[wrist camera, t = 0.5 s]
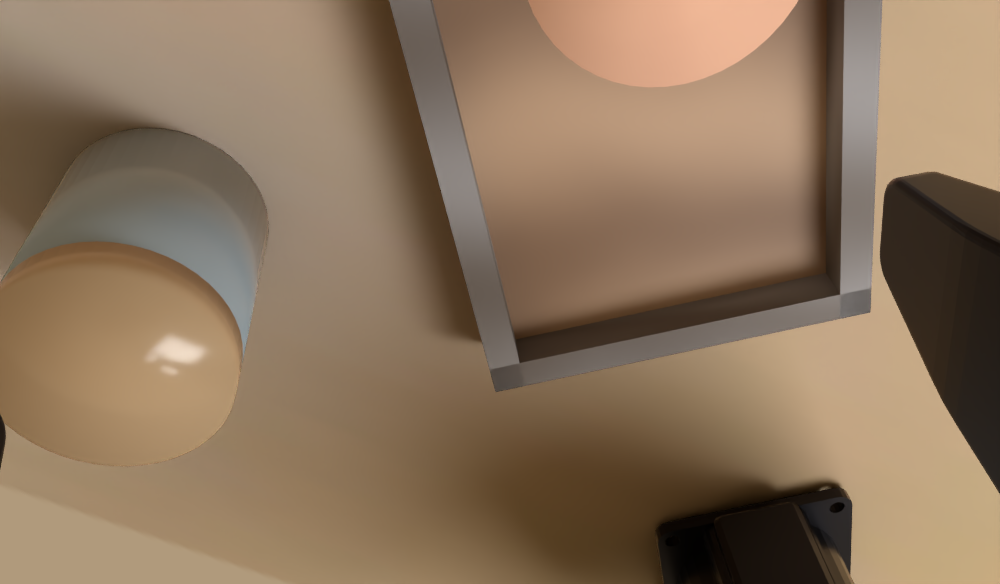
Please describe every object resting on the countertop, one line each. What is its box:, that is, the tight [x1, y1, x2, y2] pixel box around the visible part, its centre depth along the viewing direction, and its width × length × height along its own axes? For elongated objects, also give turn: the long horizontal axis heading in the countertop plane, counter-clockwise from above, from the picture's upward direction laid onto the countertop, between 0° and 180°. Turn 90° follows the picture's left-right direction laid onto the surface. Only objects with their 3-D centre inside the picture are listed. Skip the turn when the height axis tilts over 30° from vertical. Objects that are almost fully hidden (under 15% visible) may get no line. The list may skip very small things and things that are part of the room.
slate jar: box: [0, 128, 269, 466], centre depth 21 cm, size 5×5×6 cm
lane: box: [389, 0, 882, 392], centre depth 19 cm, size 18×10×6 cm, turn 12°
